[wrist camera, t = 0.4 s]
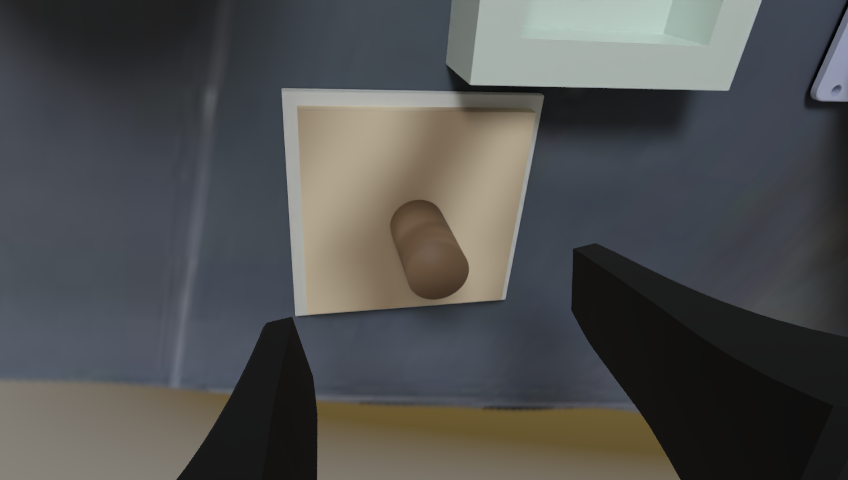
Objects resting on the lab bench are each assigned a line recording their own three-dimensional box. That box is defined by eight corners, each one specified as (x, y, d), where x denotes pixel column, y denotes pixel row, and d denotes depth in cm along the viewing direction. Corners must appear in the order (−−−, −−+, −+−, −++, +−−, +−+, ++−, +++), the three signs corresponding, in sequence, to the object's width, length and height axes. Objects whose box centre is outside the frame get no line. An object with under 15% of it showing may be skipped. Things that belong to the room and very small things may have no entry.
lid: (530, 108, 21) (585, 150, 17) (497, 292, 25) (535, 358, 21) (296, 105, 19) (299, 152, 15) (306, 306, 23) (310, 382, 19)
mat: (540, 92, 21) (544, 95, 21) (502, 294, 26) (505, 299, 26) (281, 88, 19) (281, 91, 18) (295, 310, 24) (295, 315, 23)
